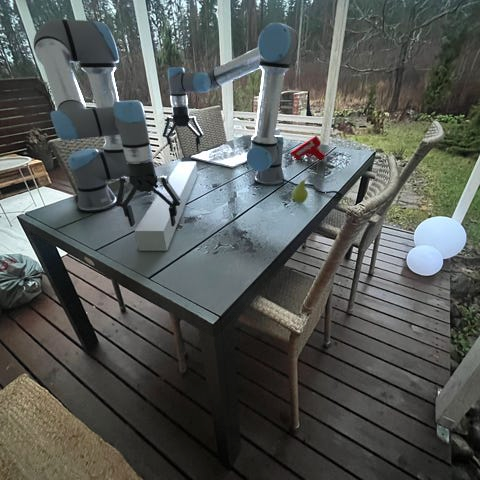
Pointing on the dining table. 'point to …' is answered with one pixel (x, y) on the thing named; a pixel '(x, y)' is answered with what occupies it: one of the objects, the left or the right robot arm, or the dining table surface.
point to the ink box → (277, 132)
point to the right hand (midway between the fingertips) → (184, 151)
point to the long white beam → (165, 211)
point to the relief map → (223, 156)
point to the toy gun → (309, 149)
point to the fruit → (300, 192)
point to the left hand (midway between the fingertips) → (153, 224)
